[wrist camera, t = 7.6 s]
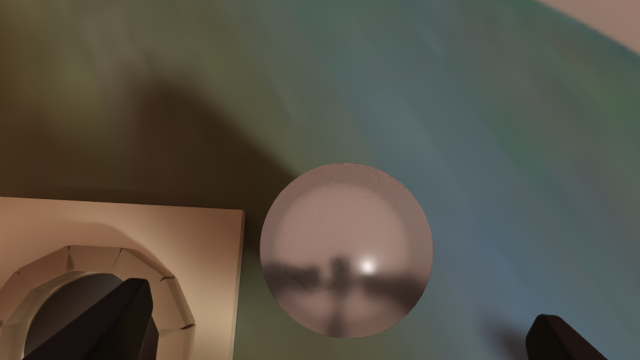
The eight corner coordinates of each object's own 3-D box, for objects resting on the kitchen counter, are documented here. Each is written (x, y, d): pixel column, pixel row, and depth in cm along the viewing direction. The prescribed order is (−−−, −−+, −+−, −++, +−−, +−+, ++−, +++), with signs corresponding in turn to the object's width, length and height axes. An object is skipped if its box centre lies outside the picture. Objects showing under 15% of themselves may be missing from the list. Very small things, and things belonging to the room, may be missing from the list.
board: (219, 503, 17) (204, 541, 15) (-52, 491, 17) (-113, 527, 15) (245, 212, 20) (236, 204, 17) (11, 200, 20) (-31, 189, 17)
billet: (370, 307, 19) (433, 343, 9) (282, 303, 19) (252, 333, 9) (372, 220, 20) (432, 167, 10) (288, 215, 20) (266, 158, 10)
